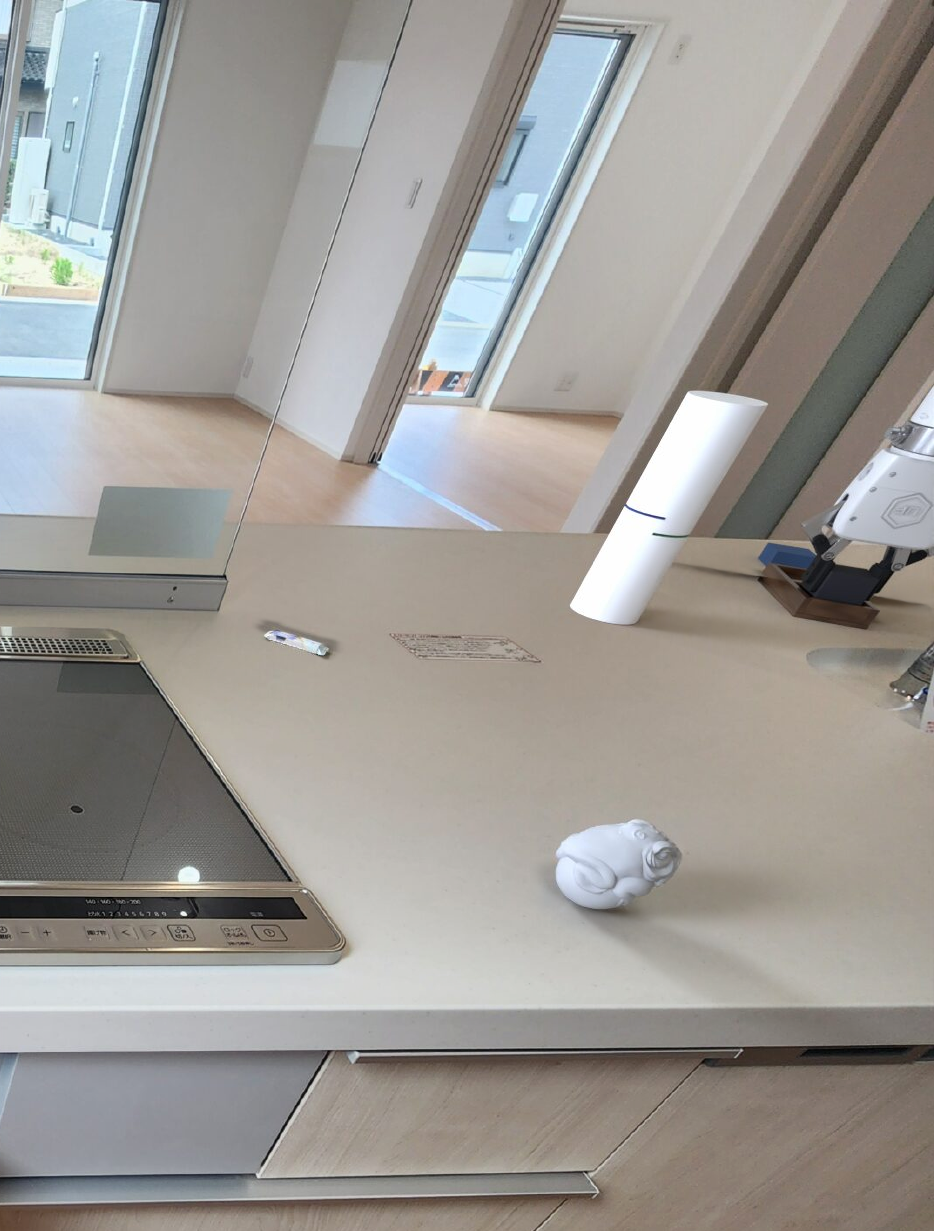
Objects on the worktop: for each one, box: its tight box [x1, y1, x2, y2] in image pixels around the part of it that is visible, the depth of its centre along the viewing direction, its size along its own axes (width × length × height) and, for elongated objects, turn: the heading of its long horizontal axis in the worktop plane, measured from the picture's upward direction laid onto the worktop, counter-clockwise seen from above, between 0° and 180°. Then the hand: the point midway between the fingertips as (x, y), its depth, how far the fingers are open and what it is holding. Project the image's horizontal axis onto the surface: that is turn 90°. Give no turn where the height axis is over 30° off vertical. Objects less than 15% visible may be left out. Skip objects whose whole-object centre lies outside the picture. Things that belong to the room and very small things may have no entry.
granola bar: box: [263, 629, 330, 656], centre depth 106 cm, size 7×2×1 cm, turn 50°
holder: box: [757, 563, 881, 630], centre depth 125 cm, size 8×14×2 cm, turn 155°
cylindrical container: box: [569, 390, 769, 626], centre depth 111 cm, size 7×7×25 cm
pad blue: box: [757, 542, 817, 569], centre depth 134 cm, size 5×4×3 cm
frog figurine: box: [555, 818, 683, 910], centre depth 69 cm, size 6×7×7 cm
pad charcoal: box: [808, 563, 880, 605], centre depth 121 cm, size 5×4×3 cm
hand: (834, 591), depth 122 cm, fingers closed on pad charcoal, 4 cm apart
